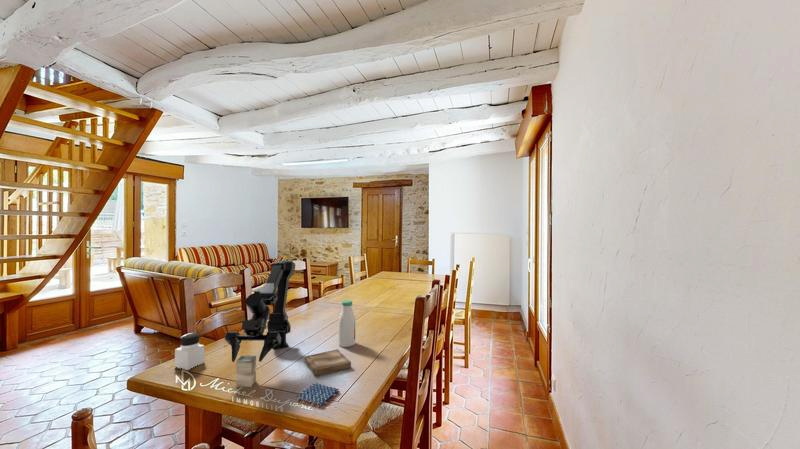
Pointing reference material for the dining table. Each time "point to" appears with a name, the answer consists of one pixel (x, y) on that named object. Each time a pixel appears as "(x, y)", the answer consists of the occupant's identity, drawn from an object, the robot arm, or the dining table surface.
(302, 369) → the dining table surface
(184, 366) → the medicine bottle
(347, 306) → the milk bottle
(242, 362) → the beech block
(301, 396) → the woven mat
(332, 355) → the base
